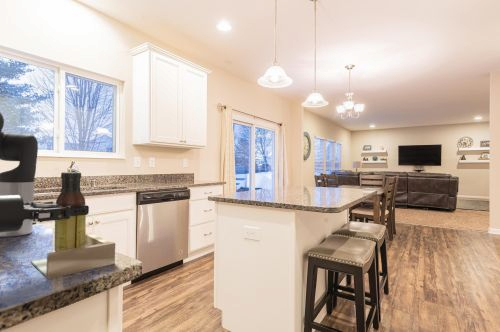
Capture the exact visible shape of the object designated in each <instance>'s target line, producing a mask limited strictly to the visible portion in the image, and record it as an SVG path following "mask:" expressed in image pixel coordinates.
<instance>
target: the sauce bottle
mask: <svg viewBox="0 0 500 332" xmlns="http://www.w3.org/2000/svg"><path fill="white" fill-rule="evenodd" d="M60 178H61V191H60V193H59V195H58V197H57V198H56V201H55V203H56V204H59V206H82V205H86V199H85V196H84V195H83V193H82V191H81V178H82V172H80V171H77V172H76V171H75V172H74V171H73V172H72V171H67V172H65V171H64V172H61V174H60ZM59 215H64V210H61V211H59ZM86 216H87V215H79V216H71V217H70V219H62V220H54V252H58V251H64V250H69V249H75V248H81V247H85V234H86V230H87V229H86V227H87V226H86V224H87V223H86V219H87V217H86Z"/></svg>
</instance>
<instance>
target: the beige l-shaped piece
mask: <svg viewBox="0 0 500 332" xmlns="http://www.w3.org/2000/svg"><path fill="white" fill-rule="evenodd" d="M115 261H116V242H115V241H109V240H106V239H104V238H102V237H100V236H98V235H96V234H93V233H92V232H89V233H85V247H81V248H75V249H69V250H64V251H58V252H55V251H54V252H48V253H47V255H46V257H45V258H40V259H33V260H31V261H30V263H31V264H32V265H33V266H34V267H35V268H36V269H37V270H38V271H39V272H40V273H41V274H42V275H43V276H44V277H45V276H46V277H45V278H46V279H47V280H51V279H55V278H60V277H64V276H69V275H71V274H72V275H73V274H76V273H81V272H84V271H88V270H93V269H96V268H97V269H99V268H103V267H106V266H110V265H113V264H115ZM50 278H51V279H50Z"/></svg>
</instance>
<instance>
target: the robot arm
mask: <svg viewBox="0 0 500 332" xmlns="http://www.w3.org/2000/svg"><path fill="white" fill-rule="evenodd" d="M4 124H5V119H4V115H3V114H2V113H1V112H0V160H1V161H4V162H5V161H6V162H18V166H16V167H14V168H12V169H10V170H7V171H6V170H5V171H3V172H0V237H18V236H24V235H28V234H31V233H32V232H33V223H36V222H37V223H38V222H39V223H44V222H51V221H55V220H62V219H70V217H71V216H79V215H86V216H87V215H89V214H90V212H89V211H90V206H89V205H86V204H85V205H82V206H59V204H56V201H47V200H46V201H34V200H35V198H34V197H35V179H36V178H35V177H36V173H37V172H36V171H37V160H38V150H39V146H38V145H39V143H38V140H37V137H36V136H34V135H33V134H30V133H29V134H28V133H16V132H15V133H13V132H11V133H10V132H4V131H3V128H4ZM61 210H64V215H59V211H61Z"/></svg>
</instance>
